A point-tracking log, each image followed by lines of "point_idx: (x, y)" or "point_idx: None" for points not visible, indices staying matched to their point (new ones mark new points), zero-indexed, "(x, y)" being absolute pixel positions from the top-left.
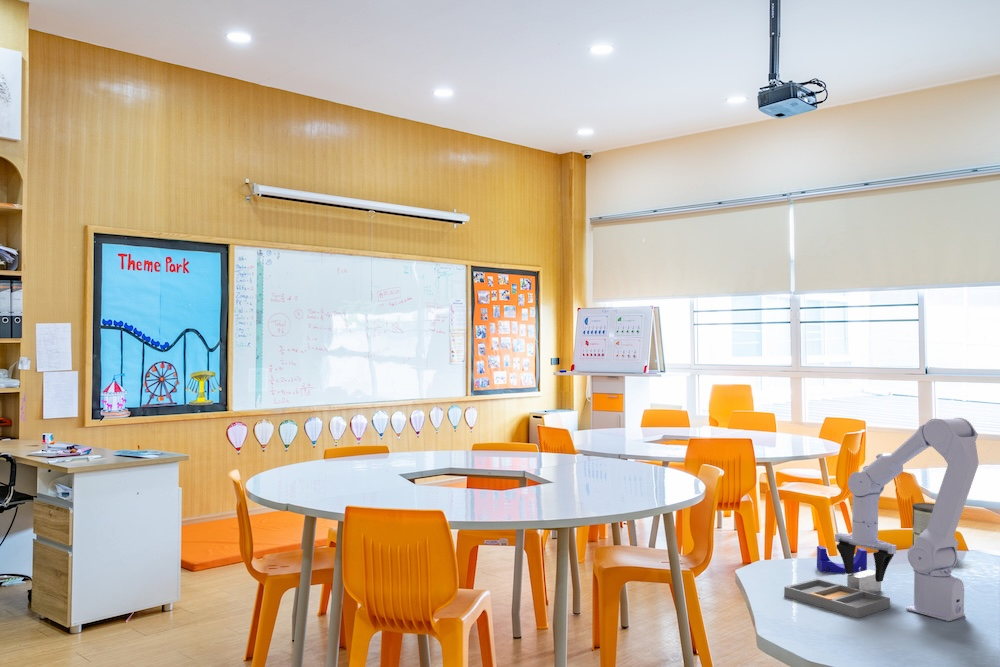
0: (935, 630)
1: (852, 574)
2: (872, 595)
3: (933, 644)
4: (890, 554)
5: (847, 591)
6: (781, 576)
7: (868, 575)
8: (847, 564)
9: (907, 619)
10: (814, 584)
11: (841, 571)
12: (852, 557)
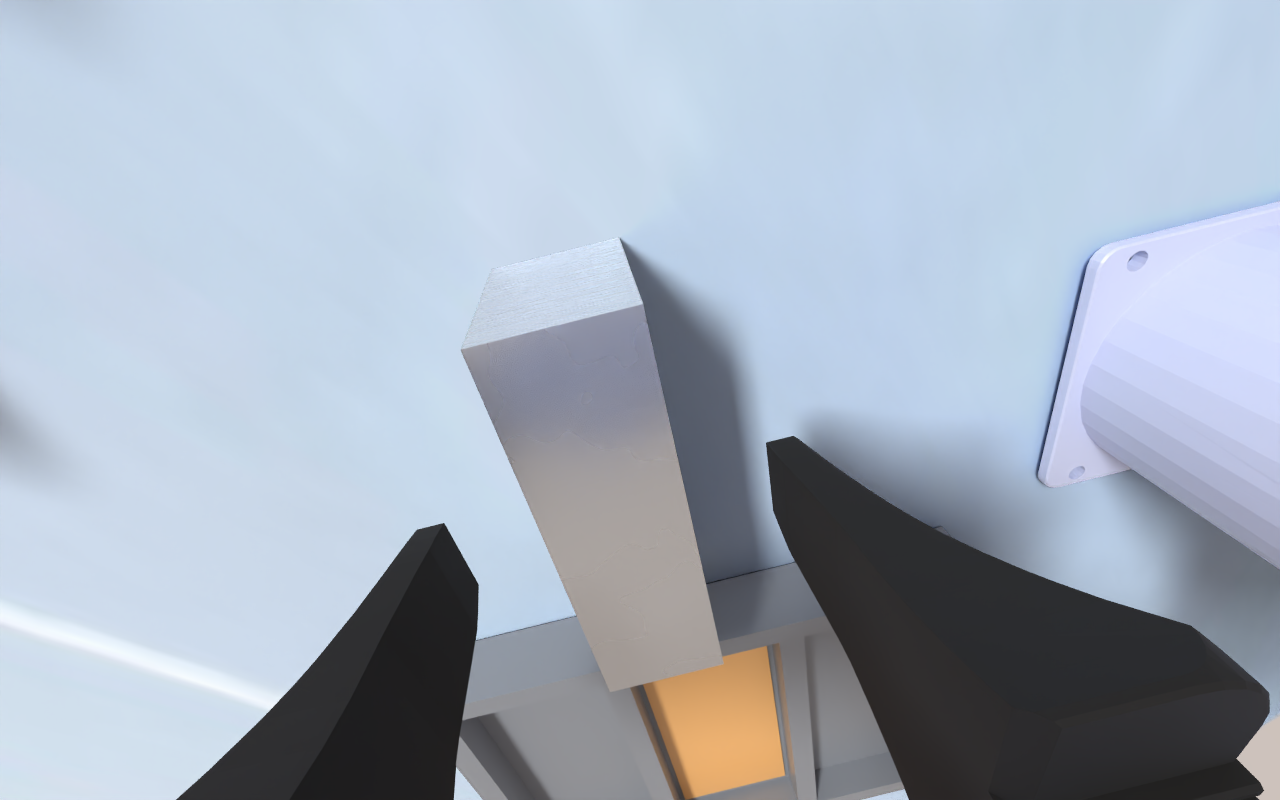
0: (1240, 563)
1: (605, 650)
2: None
3: (1247, 666)
4: (1213, 782)
5: None
6: (106, 707)
7: (692, 549)
8: (460, 691)
9: (1089, 571)
10: (472, 720)
11: None
12: (379, 696)
